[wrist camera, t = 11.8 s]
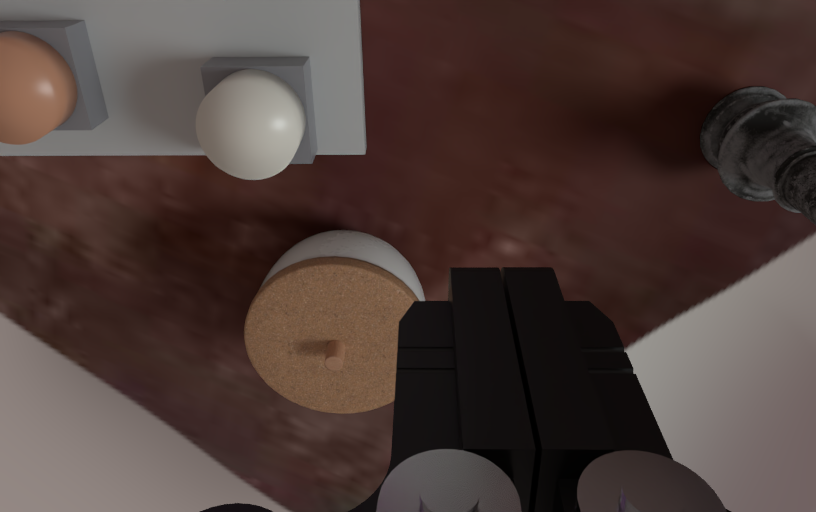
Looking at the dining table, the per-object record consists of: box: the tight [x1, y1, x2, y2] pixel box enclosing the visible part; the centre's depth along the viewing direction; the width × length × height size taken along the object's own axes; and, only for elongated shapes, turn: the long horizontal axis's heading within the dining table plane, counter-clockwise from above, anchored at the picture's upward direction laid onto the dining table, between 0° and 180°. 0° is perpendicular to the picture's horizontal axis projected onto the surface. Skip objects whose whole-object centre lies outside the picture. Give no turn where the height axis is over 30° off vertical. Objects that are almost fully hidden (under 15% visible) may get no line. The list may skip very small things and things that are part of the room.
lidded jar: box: [244, 230, 425, 414], centre depth 40 cm, size 11×11×9 cm
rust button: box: [0, 31, 77, 145], centre depth 34 cm, size 5×5×5 cm
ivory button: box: [196, 69, 306, 180], centre depth 35 cm, size 5×5×5 cm
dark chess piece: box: [700, 87, 816, 225], centre depth 33 cm, size 6×6×12 cm
